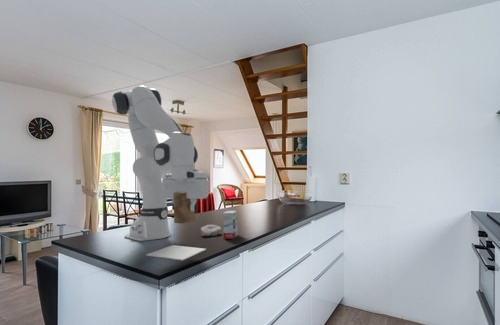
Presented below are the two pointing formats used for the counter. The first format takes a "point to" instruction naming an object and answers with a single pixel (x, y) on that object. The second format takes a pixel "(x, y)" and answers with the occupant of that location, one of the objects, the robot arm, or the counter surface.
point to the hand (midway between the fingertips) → (184, 210)
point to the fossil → (210, 230)
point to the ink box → (230, 224)
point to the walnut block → (182, 208)
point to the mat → (176, 252)
